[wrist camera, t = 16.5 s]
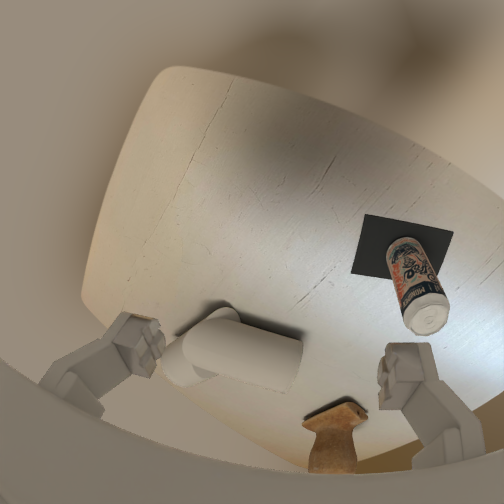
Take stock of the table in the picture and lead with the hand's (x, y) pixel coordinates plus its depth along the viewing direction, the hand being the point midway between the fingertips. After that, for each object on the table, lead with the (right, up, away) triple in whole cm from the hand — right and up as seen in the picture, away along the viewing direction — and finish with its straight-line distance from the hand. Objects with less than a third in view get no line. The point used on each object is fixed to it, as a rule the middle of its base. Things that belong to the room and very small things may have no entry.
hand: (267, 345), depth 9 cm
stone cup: (+18, -32, +43) cm, 57 cm away
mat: (+18, +3, +22) cm, 29 cm away
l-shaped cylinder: (-2, -11, +36) cm, 38 cm away
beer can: (+18, +3, +22) cm, 29 cm away
